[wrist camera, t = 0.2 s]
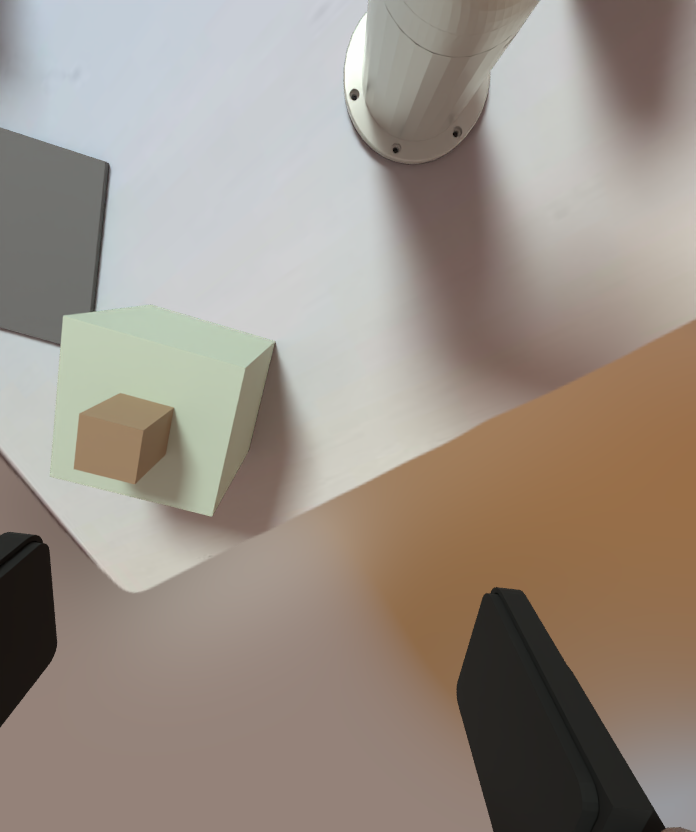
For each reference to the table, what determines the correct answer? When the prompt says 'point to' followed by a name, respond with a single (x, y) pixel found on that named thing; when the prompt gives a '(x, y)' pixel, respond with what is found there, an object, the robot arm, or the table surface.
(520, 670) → the robot arm
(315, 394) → the table surface
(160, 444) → the pale green block
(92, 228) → the mat
